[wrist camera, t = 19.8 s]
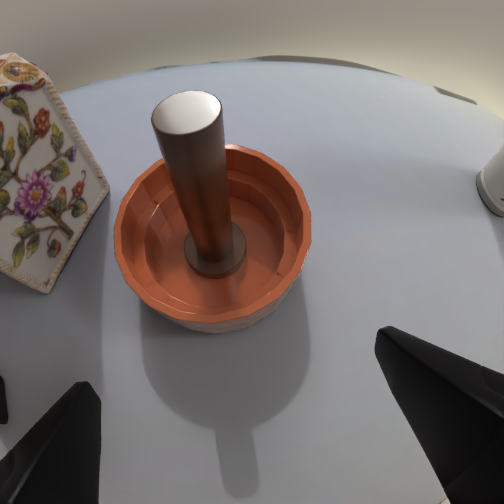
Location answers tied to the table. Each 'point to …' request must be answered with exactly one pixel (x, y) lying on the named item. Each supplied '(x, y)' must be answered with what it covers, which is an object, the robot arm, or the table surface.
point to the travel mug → (493, 183)
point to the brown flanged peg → (200, 180)
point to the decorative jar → (41, 177)
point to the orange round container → (242, 214)
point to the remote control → (2, 404)
